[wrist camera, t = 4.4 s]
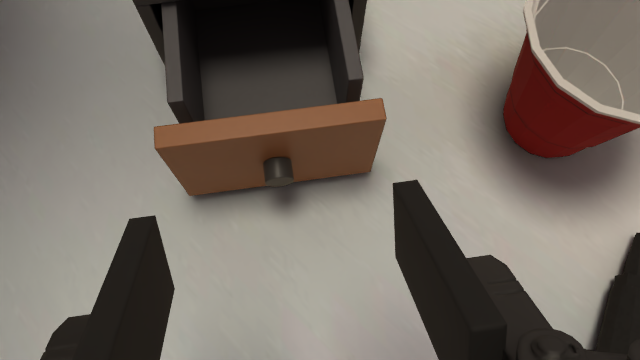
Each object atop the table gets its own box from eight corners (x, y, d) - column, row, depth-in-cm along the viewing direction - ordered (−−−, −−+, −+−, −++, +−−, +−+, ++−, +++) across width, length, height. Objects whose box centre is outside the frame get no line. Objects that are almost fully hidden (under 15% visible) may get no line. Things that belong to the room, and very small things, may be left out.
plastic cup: (428, 108, 37) (481, -7, 25) (540, 24, 39) (634, -116, 27) (545, 231, 34) (661, 165, 23) (657, 133, 36) (815, 28, 25)
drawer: (374, 190, 34) (391, 141, 26) (190, 214, 33) (155, 172, 26) (337, -6, 38) (343, -94, 31) (176, 12, 38) (142, -73, 30)
